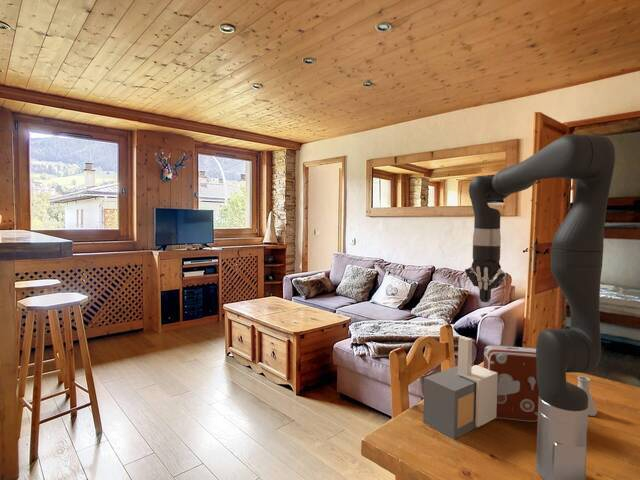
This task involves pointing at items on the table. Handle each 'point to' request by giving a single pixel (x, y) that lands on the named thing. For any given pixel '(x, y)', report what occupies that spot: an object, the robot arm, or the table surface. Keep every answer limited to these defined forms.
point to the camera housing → (449, 403)
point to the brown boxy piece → (514, 381)
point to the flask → (584, 385)
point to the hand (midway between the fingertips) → (484, 301)
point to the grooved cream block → (478, 382)
